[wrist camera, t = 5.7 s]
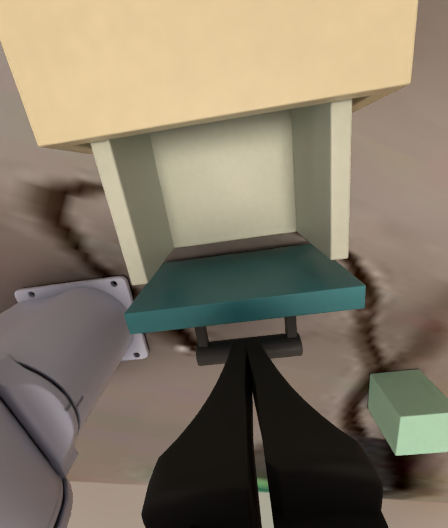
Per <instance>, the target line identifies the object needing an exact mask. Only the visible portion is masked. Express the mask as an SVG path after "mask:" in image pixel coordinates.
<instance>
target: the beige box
mask: <svg viewBox="0 0 448 528" xmlns="http://www.w3.org/2000/svg"><path fill="white" fill-rule="evenodd" d="M417 8H418V0H0V41H1V44H2V47H3V49H4V52H5V55H6V58H7V61H8V63H9V66H10V69H11V72H12V74H13V77H14V80H15V83H16V86H17V88H18V91H19V94H20V97H21V99H22V102H23V105H24V108H25V111H26V113H27V116H28V119H29V122H30V125H31V127H32V130H33V133H34V136H35V138H36V141H37V144H38V146H39V147H45V148H51V149H59V150H66V151H73V152H80V153H87V154H93V151H92V147H91V144H90V143H91V142H97V141H103V140H109V139H115V138H121V137H126V136H132V135H138V134H144V133H150V132H156V131H162V130H168V129H174V128H180V127H186V126H192V125H198V124H204V123H210V122H216V121H222V120H228V119H234V118H239V117H245V116H251V115H257V114H263V113H269V112H275V111H281V110H287V109H293V108H299V107H305V106H311V105H317V104H323V103H329V102H335V101H341V100H347V99H352V112H354V111H356V110H358V109H360V108H362V107H364V106H366V105H368V104H370V103H372V102H374V101H376V100H378V99H380V98H382V97H384V96H386V95H388V94H390V93H392V92H394V91H397V90H399V89H401V88H403V87H405V86H407V85H409V84H410V82H411V74H412V63H413V52H414V41H415V30H416V19H417Z"/></svg>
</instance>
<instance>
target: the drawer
mask: <svg viewBox="0 0 448 528" xmlns="http://www.w3.org/2000/svg"><path fill="white" fill-rule="evenodd" d="M351 130H352V99H347V100H341V101H335V102H329V103H323V104H317V105H311V106H305V107H299V108H293V109H287V110H281V111H275V112H269V113H263V114H257V115H251V116H245V117H239V118H234V119H228V120H222V121H216V122H210V123H204V124H198V125H192V126H186V127H180V128H174V129H168V130H162V131H156V132H150V133H144V134H138V135H132V136H126V137H121V138H115V139H109V140H103V141H97V142H91V143H90V144H91V147H92V151H93V154H94V158H95V161H96V164H97V168H98V171H99V175H100V178H101V181H102V185H103V188H104V192H105V195H106V198H107V202H108V205H109V209H110V212H111V215H112V219H113V222H114V226H115V229H116V232H117V236H118V239H119V243H120V246H121V249H122V253H123V256H124V260H125V263H126V266H127V270H128V273H129V277H130V280H131V283H132V285H140V284H146V285H145V287H144V288H143V289H142V291H141V292H140V293H139V295H138V296H137V297H136V299H135V300H134V301H133V303H132V304H131V305H130V307H129V308H128V309H127V311H126V312H125V313H124V317H125V320H126V323H127V326H128V329H129V332H130V334H140V333H149V332H157V331H166V330H175V329H184V328H193V327H195V332H196V336H197V341H198V344H197V346H196V358H197V363H198V365H199V366H204V365H213V364H223V363H226V361H227V358H228V355H229V352H230V349H231V344H232V342H233V341H234V340H243V339H253V338H258V339H260V341H261V344H262V346H263V348H264V350H265V351H266V353H267V355H268V357H269V358H270V359H272V358H282V357H292V356H301V355H302V352H303V350H302V343H301V339H300V336H299V334H298V333H297V327H296V316H299V315H308V314H317V313H325V312H334V311H343V310H352V309H361V308H365V290H366V286H365V285H364V284H363V283H362V282H361V281H360V280H358V279H357V278H356V277H355V276H353V275H352V274H351V273H350V272H349V271H347V270H346V269H345V268H344V267H342V266H341V265H340V264H339V263H337V262H336V261H335V260H338V259H346V258H348V249H349V209H350V169H351ZM290 232H298V233H299V234H300V235H302V236H303V237H304V238H305V239H306V240H308V241H309V242H310V243H311V244H306V245H298V246H291V247H283V248H275V249H268V250H260V251H253V252H245V253H237V254H230V255H222V256H215V257H207V258H199V259H192V260H184V261H177V262H169V263H163V262H164V261H165V259H166V258H167V257H168V255H169V254H170V253H171V251H172V250H173V249H174V248H179V247H187V246H194V245H201V244H209V243H216V242H223V241H231V240H238V239H246V238H253V237H260V236H268V235H275V234H283V233H290ZM281 317H284V319H285V332H286V333H285V334H276V335H267V336H258V337H249V338H239V339H230V340H221V341H212V342H209V340H208V335H207V330H206V326H210V325H219V324H228V323H237V322H246V321H255V320H263V319H272V318H281Z"/></svg>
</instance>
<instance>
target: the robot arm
mask: <svg viewBox="0 0 448 528" xmlns="http://www.w3.org/2000/svg"><path fill="white" fill-rule="evenodd" d="M113 281H115V282H117V285H115V284H114V283H113ZM32 292H33V293H34V294H35V295H34V294H33V293H32ZM15 298H16V300H17V302H18V303H17V304H16V305H14V306H12V307H11V308H9V309H7V310H6V311H4V312H2V313H1V314H0V528H67V525H68V522H69V518H70V515H71V509H72V502H73V501H72V500H73V499H72V497H73V496H72V489H71V485H70V483H69V481H68V479H67V478H66V476H67V474H68V472H69V470H70V468H71V466H72V464H73V463H74V461H75V459H76V457H77V455H78V452H77V450H76V448H75V440H76V437H77V436H78V434H79V432H80V430H81V429H82V427H83V425H84V424H85V422H86V420H87V418H88V417H89V415H90V413H91V412H92V410H93V408H94V406H95V405H96V403H97V401H98V399H99V398H100V396H101V394H102V393H103V391H104V389H105V387H106V386H107V384H108V382H109V380H110V379H111V377H112V375H113V374H114V372H115V370H116V368H117V367H118V365H119V363H120V362H121V361H126V360H136V359H144V358H146V357H147V356H148V354H149V350H148V347H147V344H146V340H145V337H144V334H143V333H140V334H130V332H129V329H128V326H127V323H126V320H125V317H124V313H125V312H126V311H127V309H128V308H129V307H130V305H131V304H132V303H133V301H134V300H133V297H132V293H131V290H130V287H129V283H128V280H127V279H126V278H125V277H124V276H115V277H107V278H100V279H92V280H84V281H77V282H69V283H61V284H53V285H46V286H38V287H30V288H23V289H19V290H17V291H16V292H15ZM136 353H139V354H136ZM252 392H253V397H254V402H255V407H256V411H257V416H258V421H259V426H260V430H261V435H262V440H263V447H264V455H265V462H266V470H267V478H268V485H269V493H270V500H271V508H272V516H273V523H274V528H388V525H387V523H386V521H385V519H384V516H383V514H382V512H381V507H382V498H383V483H382V481H381V479H380V477H379V475H378V473H377V471H376V469H375V467H374V466H373V464H372V463H371V461H370V459H369V458H368V456H367V455H366V453H365V452H364V450H363V449H362V448H361V446H360V445H359V443H358V442H357V441H356V440H354V439H353V438H351V437H350V436H348V435H347V434H345V433H344V432H342V431H341V430H340V429H338V428H337V427H336V426H334V425H333V424H332V423H330V422H329V421H328V420H327V419H325V418H324V417H323V416H322V415H321V414H319V413H318V412H317V411H316V410H315V409H314V408H313V407H311V406H310V405H309V404H308V403H307V402H306V401H305V400H304V399H303V398H302V397H301V396H300V395H299V394H298V393H297V392H296V391H295V390H294V389H293V388H292V387H291V386H290V385H289V383H288V382H287V381H286V380H285V379H284V377H283V376H282V375H281V374H280V372H279V371H278V370H277V368H276V367H275V365H274V364H273V363H272V361H271V360H270V358H269V357H268V355H267V353H266V351H265V350H264V348H263V346H262V344H261V341H260V339H258V338H253V339H243V340H234V341H233V342H232V344H231V349H230V352H229V355H228V358H227V361H226V363H225V366H224V368H223V371H222V373H221V375H220V377H219V379H218V381H217V383H216V385H215V387H214V389H213V391H212V392H211V394H210V396H209V397H208V399H207V401H206V402H205V404H204V405H203V407H202V408H201V410H200V411H199V413H198V414H197V415H196V417H195V418H194V419H193V421H192V422H191V423H190V424H189V425H188V427H187V428H186V429H185V430H184V432H183V433H182V434H181V435H180V436H179V437H178V439H177V440H176V441H175V442H174V443H173V444H172V445H171V446H170V447H169V448H168V449H167V450H166V451H165V452H164V453H163V454H162V455H161V456H160V457H159V458H158V461H157V463H156V466H155V468H154V471H153V474H152V476H151V479H150V482H149V485H148V489H147V493H146V497H145V501H144V505H143V509H142V514H141V515H142V519H143V523H144V525H145V527H146V528H262V525H261V515H260V506H259V497H258V486H257V476H256V466H255V456H254V444H253V402H252Z"/></svg>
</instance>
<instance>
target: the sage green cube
mask: <svg viewBox="0 0 448 528" xmlns="http://www.w3.org/2000/svg"><path fill="white" fill-rule="evenodd" d="M368 410H369V411H370V413H371V415H372V416H373V418H374V420H375V422H376V423H377V425H378V427H379V428H380V430H381V432H382V433H383V435H384V437H385V438H386V440H387V442H388V444H389V445H390V447H391V449H392V450H393V452H394V454H395V455H396V456H397V455H411V454H424V453H438V452H448V398H447V397H446V396H445V395H444V394H443V393H442V392H441V391H440V390H439V389H438V388H437V387H436V386H435V385H434V384H433V383H432V382H431V381H430V380H429V379H428V378H427V377H426V376H425V375H424V374H423V373H422V372H421V371H420V370H419V369H416V370H406V371H395V372H385V373H374V374H370V384H369V399H368Z"/></svg>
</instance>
